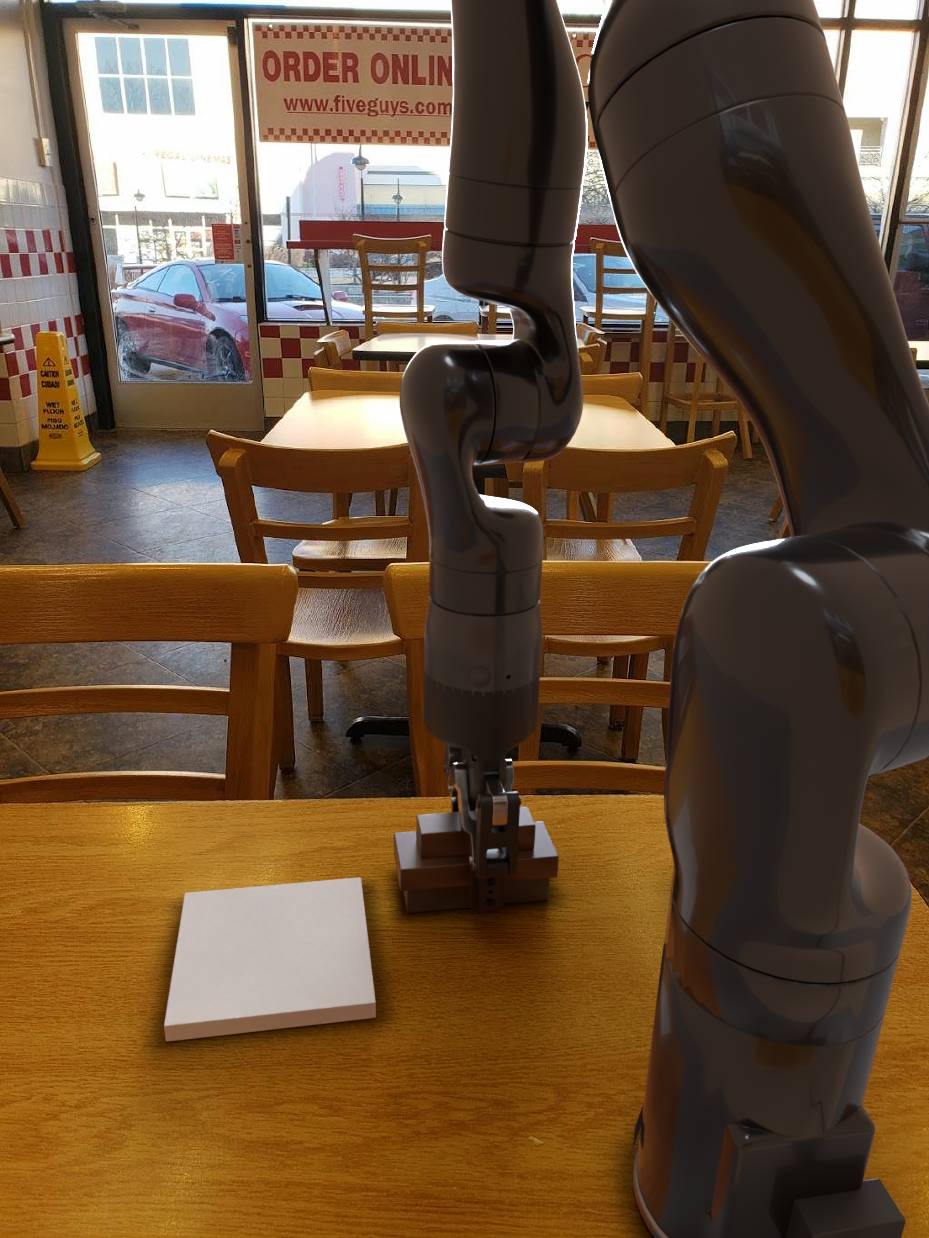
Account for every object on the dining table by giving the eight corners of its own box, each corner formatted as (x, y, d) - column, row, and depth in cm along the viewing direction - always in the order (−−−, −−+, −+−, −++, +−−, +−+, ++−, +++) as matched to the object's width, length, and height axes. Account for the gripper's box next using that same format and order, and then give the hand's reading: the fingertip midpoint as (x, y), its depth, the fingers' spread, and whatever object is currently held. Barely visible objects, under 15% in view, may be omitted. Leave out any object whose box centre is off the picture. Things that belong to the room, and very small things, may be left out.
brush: (540, 863, 70) (544, 796, 68) (555, 901, 66) (561, 831, 64) (393, 876, 68) (393, 808, 66) (400, 916, 64) (400, 844, 62)
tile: (375, 1018, 56) (375, 1002, 55) (165, 1042, 54) (163, 1025, 53) (361, 890, 67) (360, 876, 66) (186, 906, 65) (184, 892, 64)
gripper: (569, 708, 55) (552, 937, 61) (514, 619, 68) (505, 814, 74) (441, 716, 53) (437, 948, 59) (411, 624, 67) (410, 821, 72)
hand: (475, 873), depth 67 cm, fingers open, 7 cm apart
